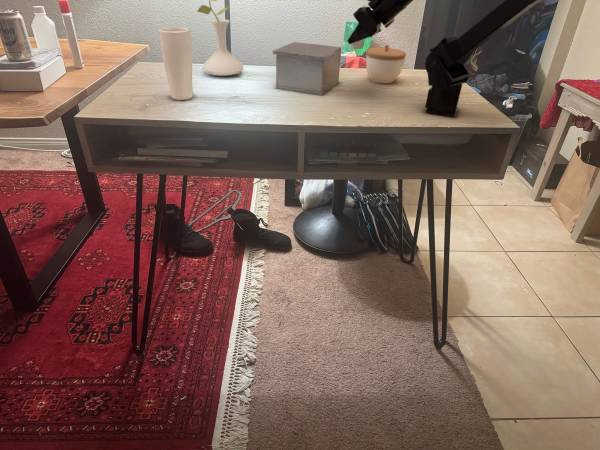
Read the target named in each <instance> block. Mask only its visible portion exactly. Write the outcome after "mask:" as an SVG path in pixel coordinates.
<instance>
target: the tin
mask: <svg viewBox="0 0 600 450" xmlns="http://www.w3.org/2000/svg"><path fill="white" fill-rule="evenodd" d="M341 57H342V50H341V51H339V52H337V53H335V54H334V55H332V56H330V57H328V58H327V59H325V60H316V59H308V58H300V57H292V56H284V55H276V54H275V68H276V70H275V77H276V78H275V80H276V81H275V88H276V89H279V90H285V91H292V92H300V93H304V94H311V95H319V96H322V95H323V94H325V93H327V91H329V90H330V89H332V88H333V87H334V86H337V84H338V83H339V81H340V70H341V69H340V68H341V59H342V58H341Z"/></svg>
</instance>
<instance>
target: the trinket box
mask: <svg viewBox="0 0 600 450" xmlns="http://www.w3.org/2000/svg"><path fill="white" fill-rule="evenodd" d="M365 55H366V57H365V69H366V73H367V75H368V76H369V78H370V79H371V81H372V82H374V83H378V84H392V83H394V81H395V80H396V79H397V78H398V77H399V76H400V75H401V73H402V71H403V68H404V64H405V60H406V57H407V53H406V51H404V50H401V49H396V48H392V47H391V48H390V45H389V44H385V45H384V47H371V48H368V49H367V50H366V51H365Z"/></svg>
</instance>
